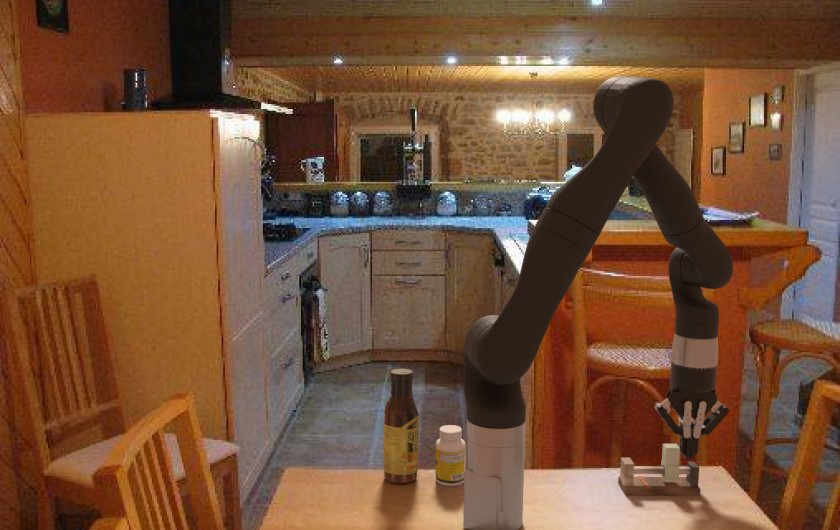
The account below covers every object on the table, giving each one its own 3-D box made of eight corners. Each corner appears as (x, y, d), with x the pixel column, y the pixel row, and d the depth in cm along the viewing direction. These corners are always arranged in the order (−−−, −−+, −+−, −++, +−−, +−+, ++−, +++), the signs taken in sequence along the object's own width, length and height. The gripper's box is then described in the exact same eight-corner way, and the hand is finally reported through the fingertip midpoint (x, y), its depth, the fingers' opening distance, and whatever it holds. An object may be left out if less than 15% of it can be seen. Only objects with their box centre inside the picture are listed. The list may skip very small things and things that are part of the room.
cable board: (690, 483, 147) (692, 455, 146) (700, 495, 142) (701, 466, 141) (618, 482, 147) (619, 455, 146) (625, 494, 142) (626, 466, 141)
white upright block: (674, 474, 145) (675, 443, 144) (678, 480, 143) (680, 448, 142) (660, 474, 145) (662, 443, 144) (664, 480, 143) (666, 448, 142)
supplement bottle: (440, 473, 150) (441, 421, 149) (468, 477, 149) (469, 425, 147) (431, 484, 145) (431, 431, 144) (460, 489, 144) (461, 435, 142)
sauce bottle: (414, 487, 144) (414, 378, 141) (379, 483, 145) (379, 375, 142) (421, 472, 150) (422, 367, 147) (388, 469, 152) (388, 365, 149)
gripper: (662, 366, 137) (656, 464, 139) (741, 366, 137) (734, 465, 140) (649, 354, 144) (644, 448, 147) (724, 355, 144) (718, 448, 147)
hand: (688, 456), depth 143 cm, fingers closed
